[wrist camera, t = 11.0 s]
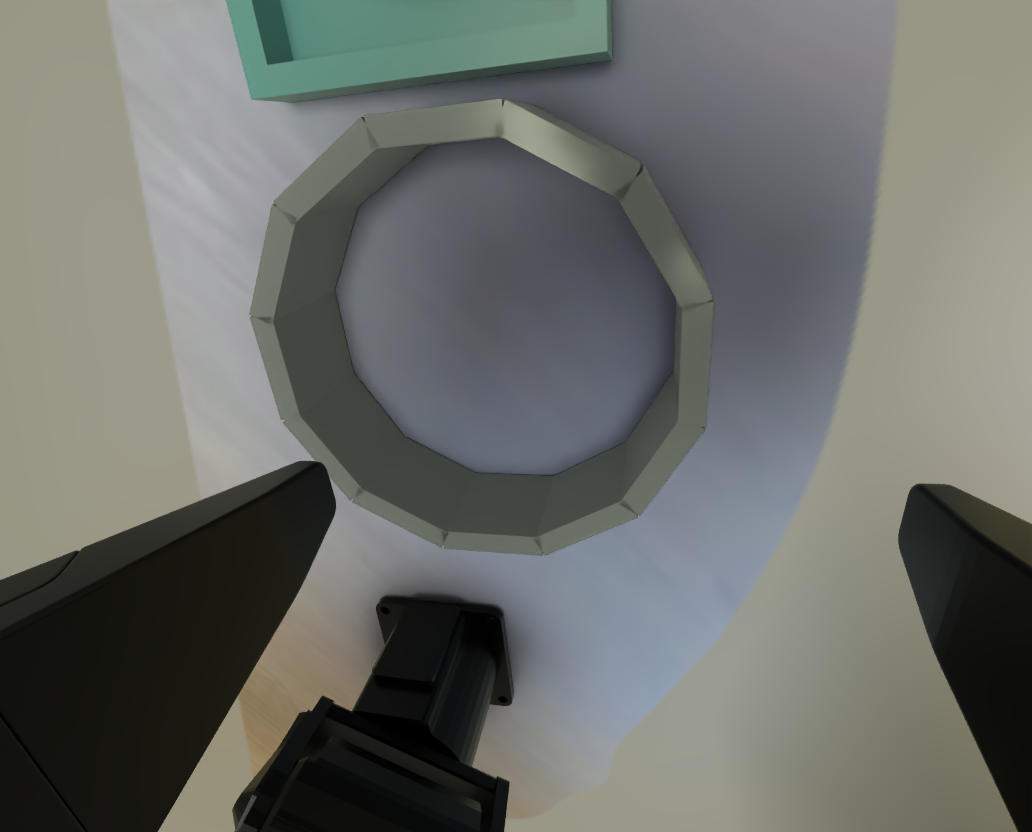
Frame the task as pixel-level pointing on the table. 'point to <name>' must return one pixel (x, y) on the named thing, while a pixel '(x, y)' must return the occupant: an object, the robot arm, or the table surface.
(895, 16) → the table surface
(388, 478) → the ring
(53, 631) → the robot arm
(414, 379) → the table surface
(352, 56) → the tray
